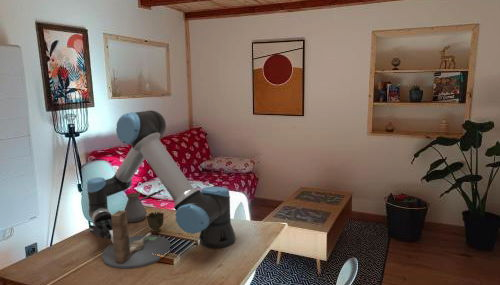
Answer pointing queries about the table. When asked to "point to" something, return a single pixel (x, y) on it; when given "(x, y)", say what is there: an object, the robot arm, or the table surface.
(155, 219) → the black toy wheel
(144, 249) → the dial plate
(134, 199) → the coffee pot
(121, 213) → the brown bar with rod
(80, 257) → the table surface
